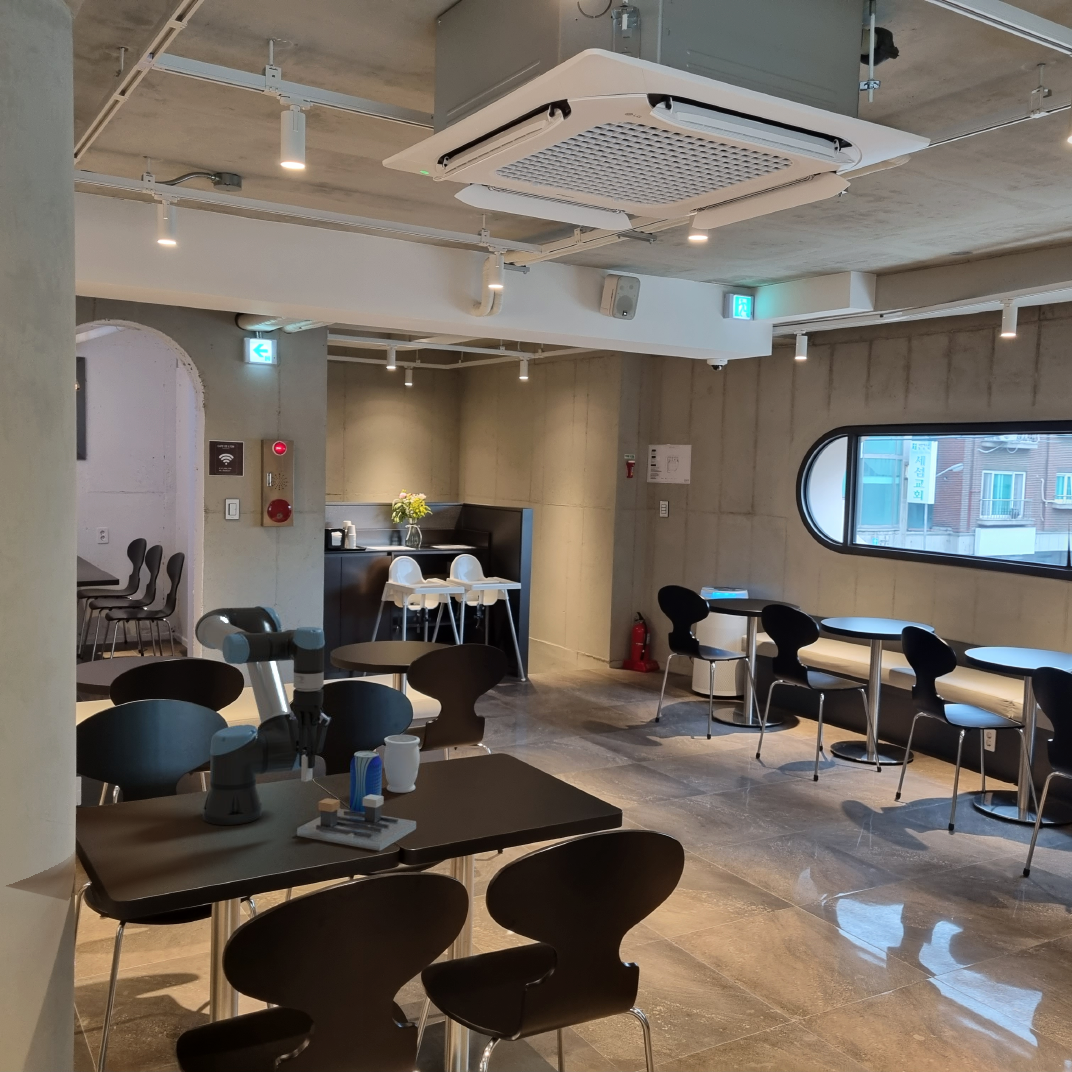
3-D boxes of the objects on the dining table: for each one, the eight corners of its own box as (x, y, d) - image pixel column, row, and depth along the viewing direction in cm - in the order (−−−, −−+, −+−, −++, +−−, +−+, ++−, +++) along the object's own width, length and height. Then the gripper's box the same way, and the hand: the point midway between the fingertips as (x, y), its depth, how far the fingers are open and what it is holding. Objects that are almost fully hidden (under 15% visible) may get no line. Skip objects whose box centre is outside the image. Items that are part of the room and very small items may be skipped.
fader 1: (318, 825, 254) (318, 802, 254) (326, 821, 258) (326, 798, 257) (331, 827, 253) (332, 804, 253) (339, 823, 256) (339, 800, 256)
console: (297, 835, 253) (297, 825, 253) (337, 815, 270) (337, 805, 269) (379, 850, 244) (380, 840, 244) (416, 828, 261) (416, 819, 260)
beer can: (374, 818, 268) (375, 758, 268) (344, 815, 270) (345, 756, 269) (385, 808, 277) (386, 751, 276) (356, 806, 278) (357, 748, 278)
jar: (380, 785, 299) (381, 735, 298) (415, 783, 302) (416, 733, 301) (386, 795, 289) (387, 743, 288) (421, 793, 292) (423, 742, 291)
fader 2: (362, 820, 259) (362, 797, 258) (369, 817, 262) (370, 794, 262) (375, 823, 257) (376, 800, 257) (383, 819, 261) (383, 796, 260)
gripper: (278, 688, 255) (276, 780, 256) (321, 693, 250) (319, 787, 251) (295, 683, 262) (294, 773, 263) (338, 688, 257) (336, 779, 258)
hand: (306, 780), depth 257 cm, fingers closed
